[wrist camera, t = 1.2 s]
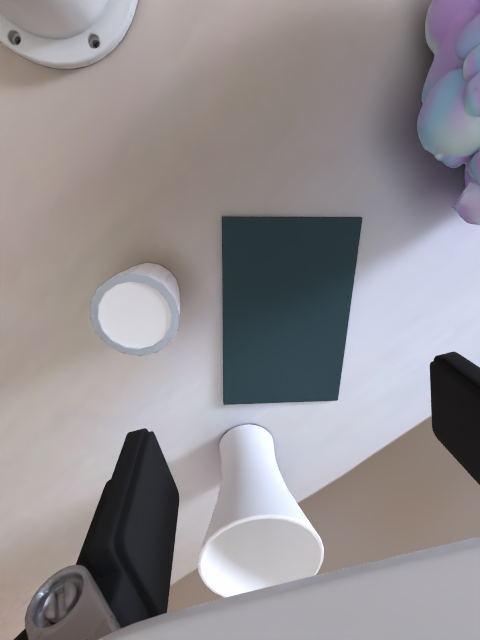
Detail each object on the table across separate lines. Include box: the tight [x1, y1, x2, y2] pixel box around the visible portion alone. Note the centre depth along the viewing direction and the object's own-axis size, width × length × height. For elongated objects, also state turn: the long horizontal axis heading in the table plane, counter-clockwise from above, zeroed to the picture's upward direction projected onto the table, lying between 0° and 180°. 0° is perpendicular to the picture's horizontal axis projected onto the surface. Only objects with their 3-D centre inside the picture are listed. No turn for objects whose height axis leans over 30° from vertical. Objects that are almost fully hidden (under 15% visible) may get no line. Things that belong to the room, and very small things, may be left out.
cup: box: [197, 424, 324, 597], centre depth 34 cm, size 10×10×14 cm
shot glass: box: [90, 263, 180, 356], centre depth 29 cm, size 7×7×7 cm
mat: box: [222, 217, 362, 405], centre depth 35 cm, size 13×20×1 cm, turn 179°
